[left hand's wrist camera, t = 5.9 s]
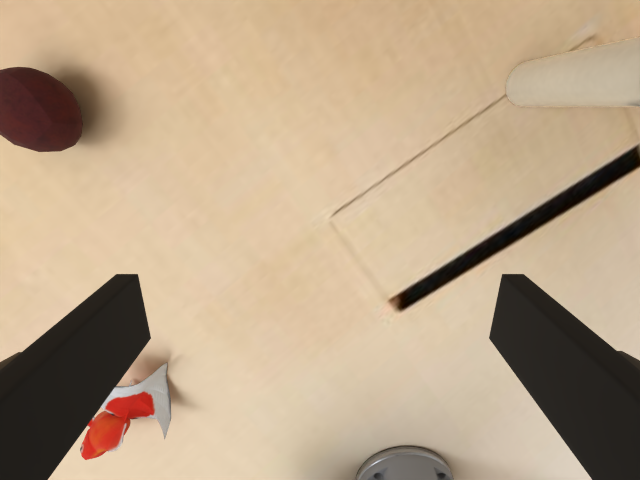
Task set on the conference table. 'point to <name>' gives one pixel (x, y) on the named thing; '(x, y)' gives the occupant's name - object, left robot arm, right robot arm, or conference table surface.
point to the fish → (128, 413)
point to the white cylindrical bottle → (580, 78)
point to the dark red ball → (37, 111)
